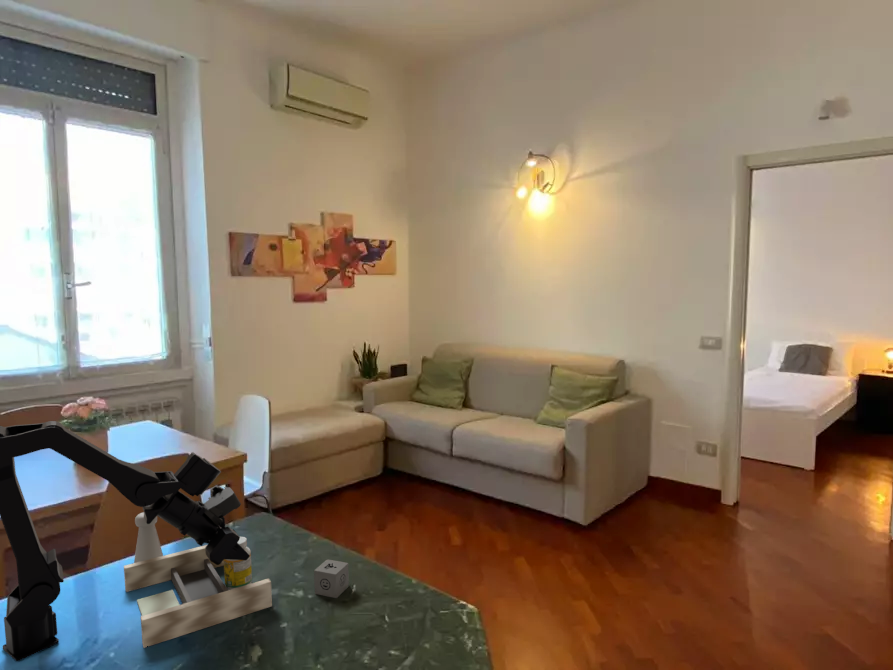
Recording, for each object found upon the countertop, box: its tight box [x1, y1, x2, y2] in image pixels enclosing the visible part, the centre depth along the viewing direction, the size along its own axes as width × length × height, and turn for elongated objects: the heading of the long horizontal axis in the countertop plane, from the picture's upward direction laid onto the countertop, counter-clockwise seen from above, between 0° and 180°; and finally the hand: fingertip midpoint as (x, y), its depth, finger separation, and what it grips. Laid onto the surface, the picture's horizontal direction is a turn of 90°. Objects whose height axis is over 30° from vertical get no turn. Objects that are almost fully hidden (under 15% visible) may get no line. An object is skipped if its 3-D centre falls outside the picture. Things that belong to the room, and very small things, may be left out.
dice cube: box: [313, 559, 350, 599], centre depth 122 cm, size 5×5×5 cm
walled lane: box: [123, 544, 273, 649], centre depth 120 cm, size 22×24×5 cm
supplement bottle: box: [223, 536, 253, 590], centre depth 124 cm, size 5×5×10 cm
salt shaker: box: [133, 511, 164, 563], centre depth 130 cm, size 6×6×13 cm
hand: (243, 552), depth 125 cm, fingers closed on supplement bottle, 5 cm apart
